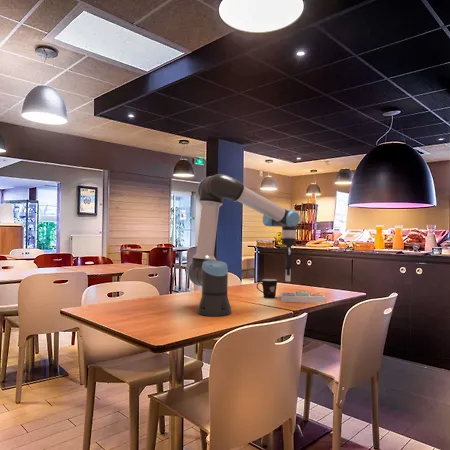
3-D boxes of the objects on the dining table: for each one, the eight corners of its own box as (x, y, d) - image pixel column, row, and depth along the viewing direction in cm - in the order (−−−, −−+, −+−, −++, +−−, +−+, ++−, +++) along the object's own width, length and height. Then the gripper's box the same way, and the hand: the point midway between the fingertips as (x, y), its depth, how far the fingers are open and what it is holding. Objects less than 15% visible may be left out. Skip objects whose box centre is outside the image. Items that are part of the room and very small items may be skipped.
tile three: (311, 300, 208) (311, 294, 208) (309, 298, 214) (309, 292, 214) (322, 300, 208) (322, 294, 208) (320, 298, 214) (321, 293, 214)
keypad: (281, 301, 207) (281, 296, 207) (280, 298, 217) (280, 293, 217) (325, 302, 206) (325, 297, 206) (322, 299, 216) (322, 294, 216)
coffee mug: (276, 296, 224) (277, 279, 224) (277, 299, 215) (277, 281, 215) (256, 296, 225) (256, 278, 225) (256, 298, 216) (256, 280, 216)
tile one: (283, 300, 209) (283, 294, 209) (282, 298, 215) (282, 292, 215) (294, 300, 209) (294, 294, 209) (293, 298, 215) (293, 292, 215)
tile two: (297, 298, 209) (297, 292, 209) (296, 296, 215) (296, 290, 215) (308, 298, 208) (308, 292, 208) (307, 296, 214) (307, 290, 214)
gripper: (297, 238, 206) (296, 282, 205) (294, 238, 219) (293, 280, 218) (282, 237, 206) (281, 282, 206) (281, 237, 219) (280, 279, 219)
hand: (287, 281), depth 212 cm, fingers closed
